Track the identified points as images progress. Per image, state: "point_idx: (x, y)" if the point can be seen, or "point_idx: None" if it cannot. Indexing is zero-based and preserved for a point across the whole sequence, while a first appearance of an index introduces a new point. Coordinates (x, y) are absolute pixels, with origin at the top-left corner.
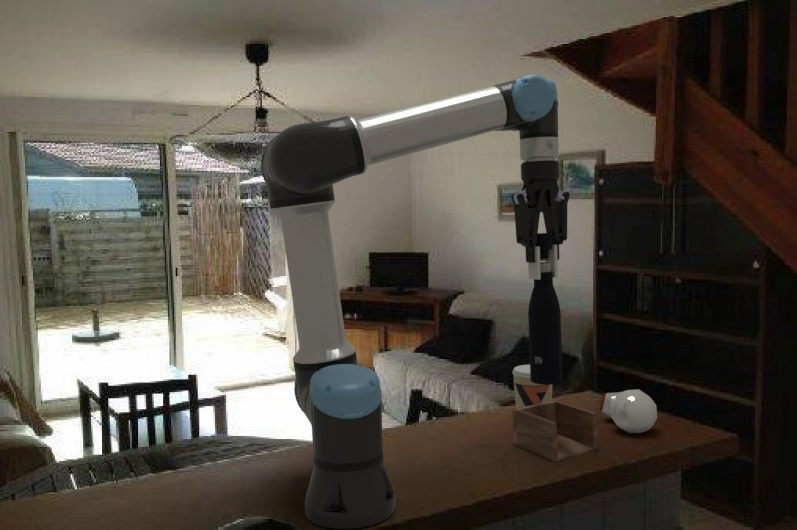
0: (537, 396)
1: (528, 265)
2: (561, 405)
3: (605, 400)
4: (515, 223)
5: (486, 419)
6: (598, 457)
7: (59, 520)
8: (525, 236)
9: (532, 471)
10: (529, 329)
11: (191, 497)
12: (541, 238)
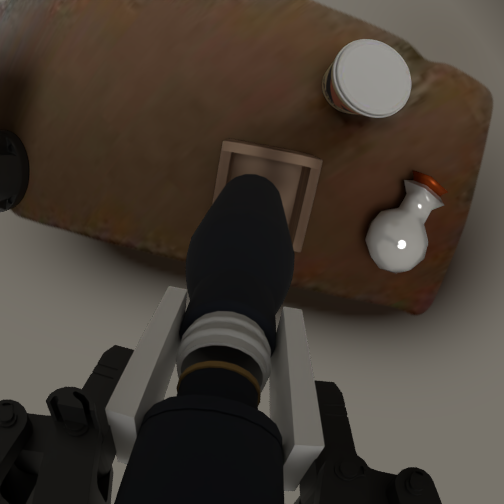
0: (340, 105)
1: (148, 324)
2: (307, 180)
3: (416, 186)
4: None
5: (294, 33)
6: None
7: None
8: (15, 480)
9: (173, 219)
10: (206, 214)
11: None
12: None
